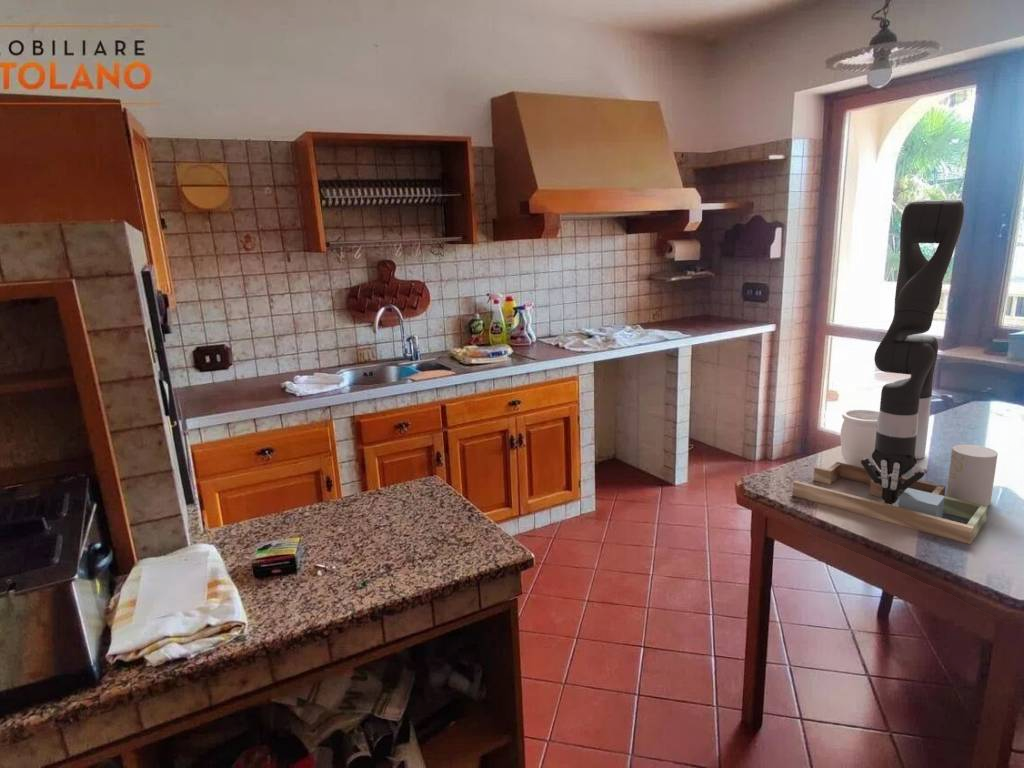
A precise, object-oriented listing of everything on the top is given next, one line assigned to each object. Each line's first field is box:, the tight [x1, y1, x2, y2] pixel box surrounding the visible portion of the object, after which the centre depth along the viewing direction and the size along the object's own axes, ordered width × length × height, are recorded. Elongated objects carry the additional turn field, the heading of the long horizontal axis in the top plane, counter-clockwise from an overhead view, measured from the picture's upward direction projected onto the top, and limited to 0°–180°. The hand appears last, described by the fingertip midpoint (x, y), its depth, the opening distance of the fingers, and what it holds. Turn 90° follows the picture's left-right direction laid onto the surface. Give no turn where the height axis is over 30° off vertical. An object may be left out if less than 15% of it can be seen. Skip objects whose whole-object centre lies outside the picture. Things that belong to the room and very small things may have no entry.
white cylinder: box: [945, 443, 998, 507], centre depth 135 cm, size 8×8×12 cm
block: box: [897, 488, 946, 518], centre depth 129 cm, size 6×7×5 cm
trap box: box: [792, 461, 989, 545], centre depth 137 cm, size 19×35×4 cm, turn 41°
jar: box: [839, 409, 881, 472], centre depth 155 cm, size 11×10×15 cm
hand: (889, 502), depth 134 cm, fingers closed
